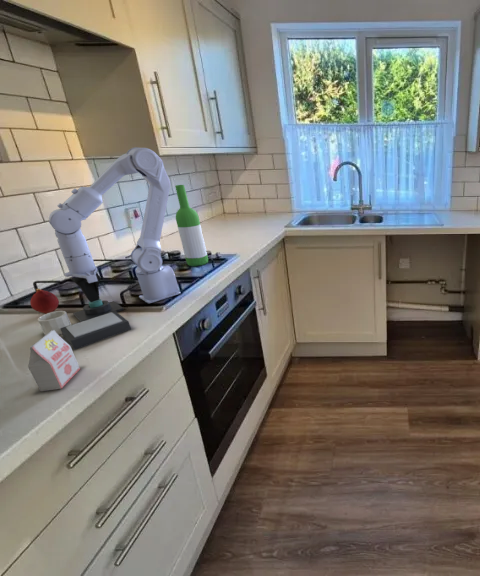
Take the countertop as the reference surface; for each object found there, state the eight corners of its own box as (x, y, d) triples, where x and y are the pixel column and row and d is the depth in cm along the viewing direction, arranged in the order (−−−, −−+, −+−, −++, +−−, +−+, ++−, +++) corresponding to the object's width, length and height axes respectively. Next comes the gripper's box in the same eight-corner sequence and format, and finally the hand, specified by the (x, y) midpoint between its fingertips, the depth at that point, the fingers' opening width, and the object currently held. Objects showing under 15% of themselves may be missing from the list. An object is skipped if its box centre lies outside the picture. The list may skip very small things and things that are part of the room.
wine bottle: (188, 262, 144) (169, 184, 132) (209, 259, 146) (192, 183, 135) (186, 268, 137) (165, 187, 125) (208, 265, 140) (190, 185, 128)
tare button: (101, 302, 105) (99, 298, 104) (104, 305, 103) (102, 300, 103) (88, 306, 103) (86, 301, 102) (91, 309, 101) (90, 304, 100)
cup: (69, 323, 98) (62, 308, 96) (74, 329, 95) (68, 314, 93) (42, 332, 94) (35, 316, 92) (47, 338, 91) (40, 323, 89)
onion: (60, 307, 108) (49, 282, 104) (65, 312, 104) (54, 287, 101) (34, 314, 103) (22, 289, 100) (38, 320, 100) (26, 294, 97)
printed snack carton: (40, 391, 72) (19, 348, 68) (60, 371, 78) (42, 331, 74) (61, 388, 72) (41, 346, 68) (80, 368, 78) (63, 328, 75)
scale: (118, 318, 100) (114, 309, 99) (131, 329, 94) (128, 320, 93) (63, 336, 91) (59, 327, 90) (74, 349, 86) (70, 339, 85)
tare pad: (114, 303, 110) (111, 295, 109) (123, 310, 105) (121, 302, 104) (73, 315, 103) (70, 307, 102) (82, 323, 98) (78, 315, 97)
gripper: (51, 253, 98) (69, 298, 104) (65, 263, 90) (84, 312, 95) (83, 247, 103) (98, 290, 109) (99, 256, 95) (115, 303, 100)
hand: (94, 300), depth 102 cm, fingers closed
